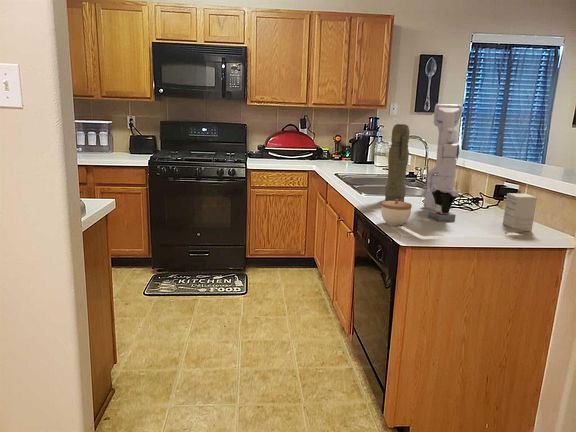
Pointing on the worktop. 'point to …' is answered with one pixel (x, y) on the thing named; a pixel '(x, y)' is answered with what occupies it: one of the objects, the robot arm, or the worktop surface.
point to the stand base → (441, 216)
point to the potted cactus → (397, 163)
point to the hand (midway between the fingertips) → (442, 211)
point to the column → (439, 209)
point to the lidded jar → (395, 212)
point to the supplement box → (519, 211)
